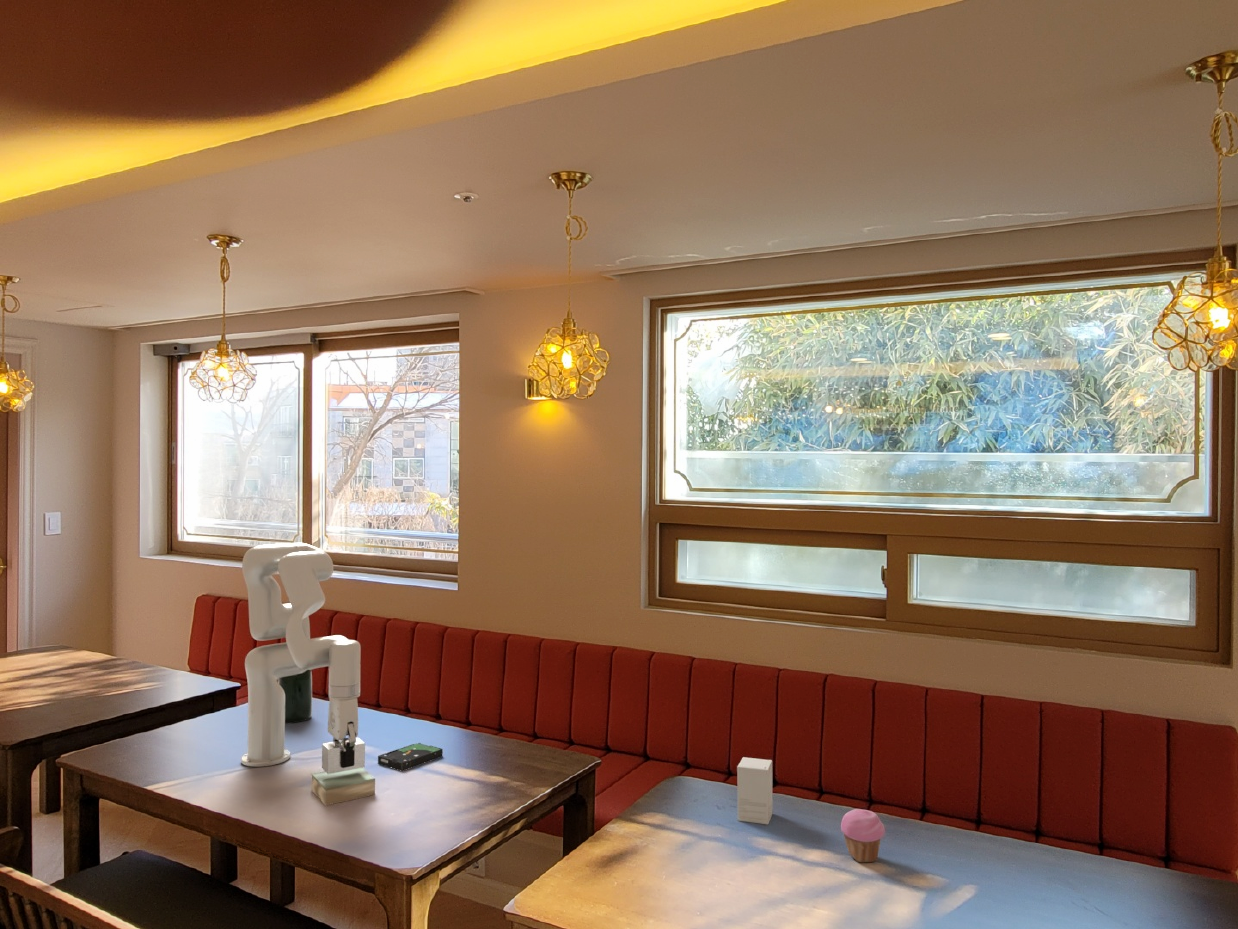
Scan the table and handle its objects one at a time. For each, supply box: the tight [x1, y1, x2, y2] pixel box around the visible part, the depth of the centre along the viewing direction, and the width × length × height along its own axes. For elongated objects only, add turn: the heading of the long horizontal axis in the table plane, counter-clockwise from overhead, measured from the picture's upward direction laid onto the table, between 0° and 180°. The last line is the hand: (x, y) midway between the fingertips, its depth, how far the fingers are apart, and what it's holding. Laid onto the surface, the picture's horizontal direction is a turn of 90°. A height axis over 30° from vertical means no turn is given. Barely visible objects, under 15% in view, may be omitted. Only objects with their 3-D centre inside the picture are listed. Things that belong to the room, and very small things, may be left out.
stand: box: [311, 767, 376, 806], centre depth 206 cm, size 12×12×4 cm
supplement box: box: [736, 756, 774, 825], centre depth 193 cm, size 7×7×13 cm
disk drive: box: [377, 742, 444, 772], centre depth 230 cm, size 10×3×15 cm
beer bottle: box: [277, 669, 313, 724], centre depth 268 cm, size 10×10×33 cm
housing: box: [321, 736, 366, 774], centre depth 206 cm, size 9×6×6 cm, turn 124°
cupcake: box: [840, 808, 886, 863], centre depth 172 cm, size 9×9×10 cm
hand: (343, 762), depth 206 cm, fingers closed on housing, 5 cm apart
